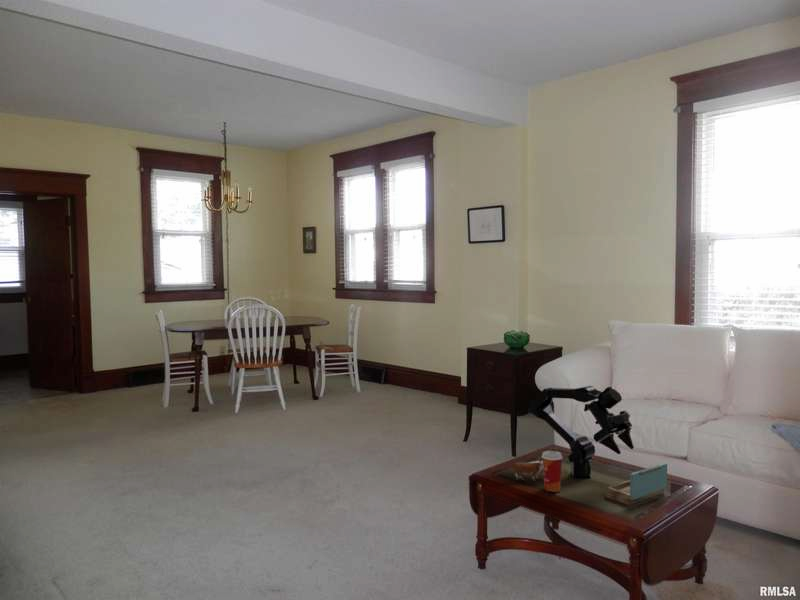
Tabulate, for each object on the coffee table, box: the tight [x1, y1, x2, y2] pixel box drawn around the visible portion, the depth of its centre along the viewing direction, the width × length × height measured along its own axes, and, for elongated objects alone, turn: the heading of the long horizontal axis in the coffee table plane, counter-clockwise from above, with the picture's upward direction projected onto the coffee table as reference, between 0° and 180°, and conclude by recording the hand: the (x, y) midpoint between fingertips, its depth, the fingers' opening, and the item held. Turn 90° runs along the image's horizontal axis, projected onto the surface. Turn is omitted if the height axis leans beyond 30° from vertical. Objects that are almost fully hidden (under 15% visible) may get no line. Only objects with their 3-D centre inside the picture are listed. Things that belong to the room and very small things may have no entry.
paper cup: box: [541, 450, 563, 491], centre depth 229 cm, size 8×8×14 cm
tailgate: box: [629, 462, 668, 500], centre depth 217 cm, size 1×20×9 cm, turn 123°
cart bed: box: [605, 479, 665, 506], centre depth 223 cm, size 10×20×4 cm, turn 123°
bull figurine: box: [512, 460, 543, 480], centre depth 240 cm, size 4×13×8 cm, turn 78°
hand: (626, 451), depth 228 cm, fingers open, 9 cm apart
